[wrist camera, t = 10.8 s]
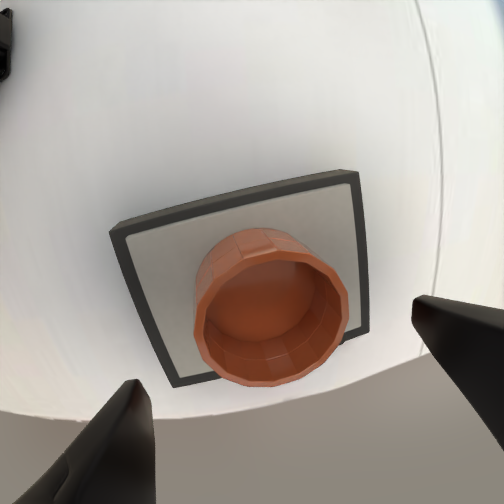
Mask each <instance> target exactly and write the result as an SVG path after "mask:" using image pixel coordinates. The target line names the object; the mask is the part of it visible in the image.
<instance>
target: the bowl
mask: <svg viewBox="0 0 504 504" xmlns="http://www.w3.org/2000/svg"><path fill="white" fill-rule="evenodd" d="M348 320H349V302H348V292H347V290H346V288H345V286H344V284H343V283H342V281H341V279H340V277H339V276H338V274H337V272H336V271H335V269H334V268H333V267H331V266H330V265H329V264H328V263H327V262H326V261H324V260H323V259H322V258H321V257H320V256H318V255H317V254H316V253H315V252H314V251H313V250H311V249H310V248H309V247H308V246H307V245H305V244H304V243H302V242H300V241H299V240H298V239H296V238H295V237H294V236H292V235H290V234H288V233H286V232H283V231H280V230H277V229H272V228H251V229H245V230H242V231H239V232H236V233H234V234H232V235H229V236H228V237H226V238H224V239H223V240H221V241H220V242H219V243H217V244H216V245H215V246H214V247H213V248H212V249H211V250H210V251H209V252H208V253H207V255H206V256H205V258H204V259H203V261H202V262H201V264H200V266H199V269H198V271H197V274H196V279H195V285H194V296H193V335H194V339H195V342H196V344H197V347H198V349H199V352H200V355H201V357H202V359H203V361H204V362H205V363H206V364H207V365H209V366H210V367H211V368H212V369H213V370H214V371H215V372H216V373H217V374H218V375H219V376H221V377H222V378H224V379H227V380H229V381H232V382H235V383H238V384H241V385H243V386H247V387H275V386H278V385H282V384H285V383H289V382H292V381H295V380H298V379H300V378H302V377H304V376H306V375H307V374H309V373H310V372H312V371H313V370H315V369H316V368H318V367H319V366H321V365H322V364H323V363H324V362H325V361H326V360H327V359H328V358H329V356H330V355H331V354H332V353H333V351H334V350H335V349H336V348H337V346H338V345H339V344H340V342H341V340H342V337H343V335H344V332H345V329H346V326H347V323H348Z"/></svg>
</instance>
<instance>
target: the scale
mask: <svg viewBox="0 0 504 504" xmlns="http://www.w3.org/2000/svg"><path fill="white" fill-rule="evenodd" d="M251 228H272V229H277V230H280V231H283V232H286V233H288V234H290V235H292V236H294V237H295V238H296V239H298V240H299V241H300V242H302V243H304V244H305V245H307V246H308V247H309V248H310V249H311V250H313V251H314V252H315V253H316V254H317V255H318V256H320V257H321V258H322V259H323V260H324V261H326V262H327V263H328V264H329V265H330V266H331V267H333V268H334V269H335V271H336V272H337V274H338V276H339V277H340V279H341V281H342V283H343V284H344V286H345V288H346V290H347V292H348V302H349V320H348V323H347V326H346V329H345V332H344V335H343V337H342V340H341V342H340V344H339V345H341V344H343V343H344V342H345V341H347V340H350V339H353V338H355V337H358V336H361V335H363V334H366V333H368V332H369V279H368V259H367V244H366V232H365V221H364V211H363V202H362V193H361V185H360V178H359V172H357V171H349V170H342V169H339V170H333V171H328V172H322V173H317V174H312V175H307V176H302V177H297V178H292V179H287V180H282V181H277V182H273V183H268V184H263V185H259V186H254V187H250V188H246V189H241V190H237V191H233V192H229V193H224V194H220V195H216V196H212V197H208V198H204V199H200V200H196V201H192V202H189V203H185V204H181V205H177V206H174V207H170V208H166V209H163V210H159V211H155V212H152V213H148V214H145V215H141V216H138V217H135V218H131V219H128V220H124V221H121V222H119V223H118V224H117V225H116V226H115V227H113V228H112V229H111V230H110V231H109V235H110V238H111V241H112V244H113V247H114V250H115V253H116V256H117V259H118V262H119V265H120V268H121V270H122V273H123V276H124V279H125V281H126V284H127V287H128V289H129V292H130V294H131V297H132V299H133V302H134V304H135V307H136V309H137V312H138V314H139V317H140V319H141V321H142V324H143V326H144V328H145V331H146V333H147V335H148V338H149V340H150V342H151V344H152V346H153V349H154V351H155V353H156V355H157V357H158V359H159V361H160V363H161V366H162V368H163V370H164V372H165V374H166V376H167V378H168V380H169V382H170V384H171V386H172V387H173V388H177V387H182V386H187V385H192V384H197V383H201V382H206V381H211V380H215V379H219V378H222V377H221V376H219V375H218V374H217V373H216V372H215V371H214V370H213V369H212V368H211V367H210V366H209V365H207V364H206V363H205V362H204V361H203V359H202V357H201V355H200V352H199V349H198V347H197V344H196V342H195V339H194V335H193V296H194V285H195V279H196V274H197V271H198V269H199V266H200V264H201V262H202V261H203V259H204V258H205V256H206V255H207V253H208V252H209V251H210V250H211V249H212V248H213V247H214V246H215V245H216V244H217V243H219V242H220V241H221V240H223V239H224V238H226V237H228V236H229V235H232V234H234V233H236V232H239V231H242V230H245V229H251Z"/></svg>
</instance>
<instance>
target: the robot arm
mask: <svg viewBox="0 0 504 504" xmlns="http://www.w3.org/2000/svg"><path fill="white" fill-rule="evenodd" d="M5 14H6V15H5ZM11 18H12V10H11V9H9V8H6V9H4V10H3V11H1V12H0V82H1V81H2V80H4V79H5V78H7V76H8V75H9V73H10V47H11V30H12V21H11ZM3 71H4V73H3ZM2 73H3V74H2ZM411 321H412V324H413V326H414V328H415V329H416V331H417V332H418V334H419V335H420V337H421V338H422V340H423V341H424V343H425V344H426V346H427V347H428V349H429V350H430V352H431V353H432V355H433V356H434V358H435V359H436V360H437V362H438V363H439V364H440V365H441V367H442V368H443V369H444V370H445V372H446V373H447V374H448V375H449V377H450V378H451V379H452V380H453V382H454V383H455V384H456V385H457V387H458V388H459V389H460V391H461V392H462V393H463V395H464V396H465V397H466V399H467V400H468V401H469V403H470V404H471V405H472V406H473V408H474V409H475V411H476V412H477V413H478V415H479V416H480V417H481V419H482V420H483V422H484V423H485V424H486V426H487V427H488V429H489V430H490V432H491V433H492V434H493V436H494V437H495V439H497V442H498V443H499V445H500V446H501V448H502V449H503V451H504V310H503V309H497V308H492V307H486V306H481V305H476V304H470V303H465V302H460V301H454V300H449V299H444V298H439V297H433V296H428V295H421V296H419V297H417V298H415V299H414V300H413V303H412V316H411ZM13 504H156V488H155V438H154V428H153V417H152V405H151V400H150V397H149V396H148V394H147V392H146V390H145V389H144V387H143V385H142V383H141V382H140V381H139V380H138V379H133V380H127V381H125V382H124V383H123V384H122V385H121V387H120V388H119V389H118V390H117V391H116V392H115V394H114V395H113V396H112V397H111V398H110V399H109V400H108V402H107V403H106V404H105V405H104V406H103V407H102V408H101V410H100V411H99V412H98V413H97V414H96V415H95V416H94V418H93V419H92V420H91V421H90V422H89V423H88V425H87V426H86V427H85V428H84V429H83V430H82V431H81V433H80V434H79V435H78V436H77V437H76V438H75V440H74V441H73V442H72V443H71V444H70V445H69V447H68V448H67V449H66V450H65V451H64V453H63V454H62V455H61V456H60V457H59V458H58V459H57V460H56V462H55V463H54V464H53V465H52V466H51V467H50V468H49V469H48V470H47V471H46V473H44V474H43V475H42V477H40V479H39V480H38V481H36V482H35V483H34V484H33V485H32V486H31V487H30V488H29V489H28V490H27V491H26V492H25V493H24V494H23V495H22V496H21V497H20V498H18V500H16V501H15V502H14V503H13Z"/></svg>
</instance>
